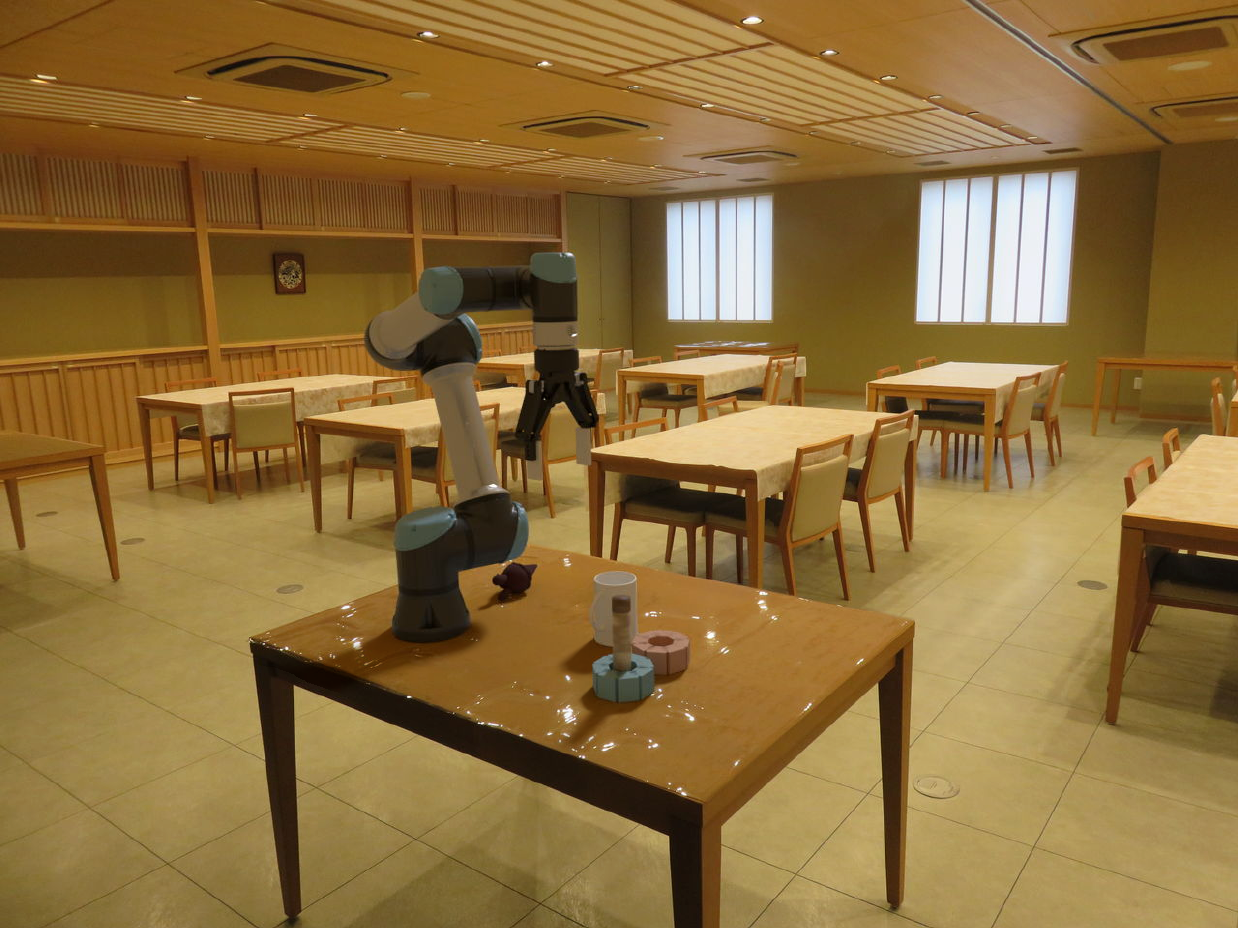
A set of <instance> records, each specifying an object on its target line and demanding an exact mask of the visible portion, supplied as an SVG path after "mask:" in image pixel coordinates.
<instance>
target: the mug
mask: <svg viewBox="0 0 1238 928" xmlns="http://www.w3.org/2000/svg"><path fill="white" fill-rule="evenodd" d="M637 580H638V579H637V576H636V575H635V574H633V573H631V572H626V571H616V570H615V571H606V572H601V573H598V574H597V575H595V576H594V577H593V599H592V602H591V604H590V608H589V623H590V625H591V627H592V628H593V630H594V635H593V639H594V641H595V643H597V644H599V645H601V646H605V647H612V648H613V623H612V597H613V596H616V595H627V596H630V597H631V645H632V642H633V640H634V638H635V636H637V635H638V634H639V628H638V591H637V590H638V589H637V586H638V585H637V583H638V581H637Z"/></svg>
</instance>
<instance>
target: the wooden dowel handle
mask: <svg viewBox="0 0 1238 928" xmlns="http://www.w3.org/2000/svg"><path fill="white" fill-rule="evenodd" d="M612 623H613V647H612V654H613V670H614V671H618V672H626V671H631V653H632V644H631V597H630V596H627V595H616V596H613V597H612Z"/></svg>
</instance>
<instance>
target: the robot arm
mask: <svg viewBox="0 0 1238 928" xmlns="http://www.w3.org/2000/svg"><path fill="white" fill-rule="evenodd" d="M578 279H579V276H578V274H577V261H576V256H575V255H574V254H573V253H571V252H535V253H533V254H532V255H531V257H530V264H529V265H522V264H521V265H520V264H519V265H499V266H498V265H497V266H496V265H495V266H491V265H490V266H448V265H442V266H436V267H429V268H428V267H427V268H426V269H423V271H422V272H421V274H420V278H419V280H418V285H417V286H418V287H417V291H416V292H415V293H413V295H411V296H409V297H408V298H407V299H405V300H404V301H403V302H402V303H400V304H399V305H398V306H396V307H395V308H394V309H392V310H386V311H383V312H380V313H378V314H377V315H376V316H375V317H374V318H373V319H372V320H370V321H369V323H368V324H367V326H366V328H365V330H364V334H363V342H364V345H365V346H364V347H365V349H366V352H367V354H368V355H369V356H370V358H371V359H372V360H373V361H374V362H375V363H377V364H379V366H381V367H384V368H385V369H388V370H390V371H392V370H393V371H397V372H414V371H419V373H420V376H421V380H422V382H423V384H426V385H428V386H429V387H431V391H432V394H433V398H434V402H435V406H436V410H437V414H438V418H439V422H440V426H441V430H442V431H441V432H442V435H443V439H444V442H445V446H446V450H447V455H448V458H449V459H448V460H449V463H450V467H451V471H452V474H453V475H452V476H453V479H454V483H455V486H456V491H457V496H458V497H457V499H456V501H455V502H454V503H453V508H452V507H449V506H444V505H443V506H442V505H441V506H440V505H438V506H434V507H431V506H430V507H424V508H420V509H417V510H413V511H410V512H409V513H407V514H405V515H403V516H402V517H401V518H399V519H398V521H397V522H396V523H395V526H394V540H393V546H394V548H395V560H396V561H395V562H396V573H397V584H398V585H397V586H398V587H397V588H398V595H397V599H396V600H397V601H396V605H395V610H394V615H393V616H392V619H391V628H392V629H391V630H392V631H391V632H392V634H393V636H395V637H396V638H398V639H400V640H402V641H404V642H405V641H406V642H411V643H431V642H441V641H445V640H449V639H453V638H455V637H458V636H460V635H462V634H463V633H465V632H466V631H467V630H469V628H470V626H471V613H470V610H469V609H468V607H467V605H466V601H465V598H464V595H463V594H462V591H461V589H460V582H459V581H460V578H459V573H461V572H464V571H469V570H473V569H479V568H482V567H487V566H492V565H496V564H498V565H500V564H501V565H502V564H504V563H506V562H509V561H511V560H512V561H513V560H516V559H518V558H519V557H521V556H522V555H523V554H524V552H525V550H526V549H527V546H528V541H529V538H530V537H529V535H530V523H529V518H528V514H527V512H526V511H527V510H525V507H523V505H522V504H521V503H520V502H517V501H512V498H511V495H510V492H509V491H508V490H507V489H504V488H503V487H502V486H501V485H500V482H499V477H498V474H497V470H496V465H495V461H494V457H493V453H492V450H491V446H490V441H489V438H488V435H487V431H486V426H485V423H484V419H483V415H482V411H481V407H480V403H479V399H478V395H477V391H476V388H475V383H474V380H473V378H474V376H475V374H476V372H477V371H478V364H480V362H481V360H482V356H483V349H482V347H483V341H482V336H481V334H480V331H479V328H478V326H477V324H476V323H475V322H474V319H472V317H470V316H469V315H467V313H484V312H485V313H486V312H487V313H488V312H506V311H508V312H510V311H511V312H512V311H531V313H532V343H533V346H534V347H536V348H535V349H534V350H533V363H534V364H533V365H534V366H533V368H534V371H536V372H538V375H539V377H538V379H537V380H536V379H526V381H525V391H524V392H525V393H524V397H523V401H522V405H521V407H520V411H519V416H518V420H517V423H516V428H515V431H514V437H515V439H518V440H519V441H523V445H524V458H525V461H526V474H527V475H526V477H527V480H532V481H533V480H534V481H544V476H543V475H544V474H543V445H542V440H539V437H540V435H541V433H542V431H543V429H544V427H545V424H546V422H547V420H548V417H549V415H550V412H551V411H552V409H553V408H555V407H556V405H559V404H561V403H564V404H565V406H566V407H567V409H568V411H569V412H570V414H571V415H572V417H573V419H574V420H575V422H576V423H577V425H578V427H575V455H576V456H575V457H576V458H575V459H576V462H575V463H576V464H577V465H583V466H591V465H592V446H591V445H592V428H593V429H595V428H597V425H598V423H599V421H600V417H599V414H598V411H597V408H596V405H595V402H594V399H593V396H592V394H591V391H590V387H589V383H588V374H587V373H586V372H579V371H578V370H579V369H580V350H579V349H578V348H577V347H576V346H577V345H578V344H579V330H578V328H579V327H578V326H579V325H578V324H579V323H578V316H579V315H578V313H579V312H578V311H579V310H578V309H579V308H578V304H579V303H578V301H579V300H578Z"/></svg>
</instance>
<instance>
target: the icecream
mask: <svg viewBox="0 0 1238 928" xmlns="http://www.w3.org/2000/svg"><path fill="white" fill-rule="evenodd" d="M537 568H538V564H537V563H535V564H533V563H532V564H522V563H519V562H515V561H512V562H510V563H509V564H507V565H506V567H505V568H504V569H503V571H502V572H501V573H497V574H496V575H494V576H493V577H492V580H491V581H492V584H493V585H494V586H499V587H500V589H502V590H501V591H500V592H499V594H498V596H497V600H498V601H499V602H505V601H507V600H508V598H509V597H510V596H511V594H520V593H523V592H525V591H527V590H529V589H531V587H532V579H533V577H532V576H533V574H534V573H535V571H536V570H537Z"/></svg>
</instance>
